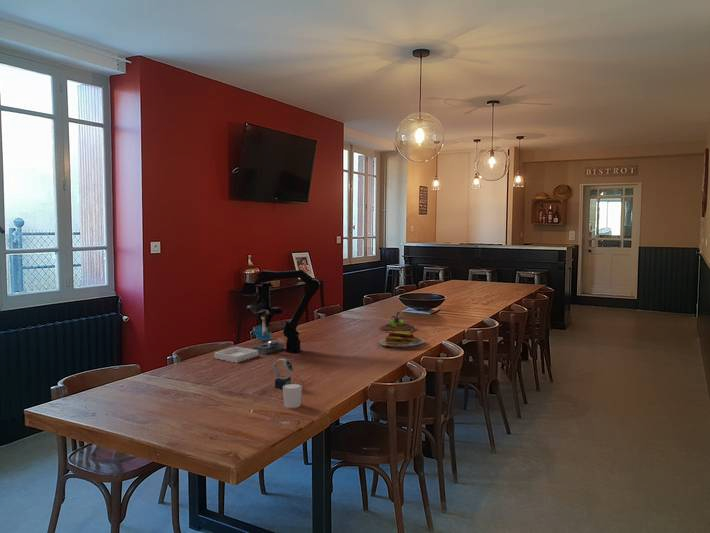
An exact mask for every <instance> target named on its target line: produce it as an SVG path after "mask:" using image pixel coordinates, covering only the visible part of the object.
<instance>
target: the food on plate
mask: <svg viewBox="0 0 710 533" xmlns="http://www.w3.org/2000/svg"><path fill="white" fill-rule="evenodd" d="M383 342H387V343H386V344H383ZM425 342H426V339H424V338H420V337H417V336H416V337H415V335H414V333H413V332H406V331H392V332H388V335H386V336H385V338H384V339H381V340H380V339H379V341H378V345H381V346H384V347H383V348H384V349H386V348H387V347H391V348H404V349H406V348H409V347H414V346H420V345H422V344H423V343H425Z"/></svg>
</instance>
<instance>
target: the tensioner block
mask: <svg viewBox="0 0 710 533" xmlns="http://www.w3.org/2000/svg"><path fill="white" fill-rule="evenodd" d="M284 348H285V346H284V343H283V342H280V340H277V339H270V340H268V341H266V342H265V343H261V344H258V345H254V346H253V348H252V349H253V350H258V354H259V353H261V354H260V355H265V354H266V355H269V354H271V353H275V352H279V351H281V350H284ZM268 353H269V354H268Z"/></svg>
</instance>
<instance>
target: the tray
mask: <svg viewBox="0 0 710 533" xmlns="http://www.w3.org/2000/svg"><path fill="white" fill-rule="evenodd" d="M213 353H214V358H213V359H215V360H218V359H220V361H223V360H225V362H229V361H230V362H231V363H234V362H235V363H234V364H238V362H239V363H242V362H245V361H248V360H251V359H250V358H252V359H254V358H253V357H255V358H257V356H258V357H259V353H258V350H253V348H252V349H251V348H246V347H241V346H234V347H230V348H226V349H221V350H220V351H216V352H213ZM247 359H248V360H247ZM244 360H245V361H244ZM241 361H242V362H241ZM230 362H229V363H230Z"/></svg>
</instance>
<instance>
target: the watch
mask: <svg viewBox="0 0 710 533" xmlns="http://www.w3.org/2000/svg"><path fill="white" fill-rule="evenodd" d="M279 361H282V363H283V368H284V370H285V371H286V372H287V373H288V376H282V375H281V372H279V370H278V366H277V364H278V362H279ZM272 371H273V373H274V376H275V377H276V379H274V388H275V389H282V390H283V386H284V385H287V384H292V377H291V376H292V374H293V372H294V365H293V363H292V361H291V360H289V359H288V358H279V359H277V360H275V362H274V363H273V367H272Z"/></svg>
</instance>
